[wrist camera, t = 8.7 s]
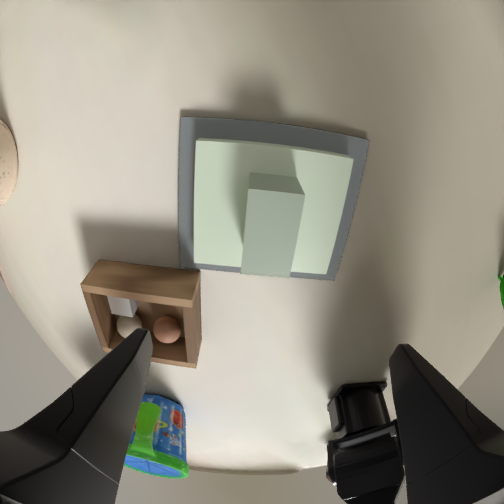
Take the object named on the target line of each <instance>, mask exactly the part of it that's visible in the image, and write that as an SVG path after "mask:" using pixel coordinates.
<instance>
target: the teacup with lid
mask: <svg viewBox="0 0 504 504" xmlns="http://www.w3.org/2000/svg"><path fill="white" fill-rule="evenodd" d="M17 173H18V158H17V151H16V146H15V142H14V139H13V136H12V134H11V132H10V130H9V128H8V127H7V126H6V124H5V123H4V122H3V121H1V120H0V205H1V204H3V203H4V202H6V201H7V200H8V199H9V198H10V196H11V194H12V193H13V190H14V188H15V185H16V180H17Z"/></svg>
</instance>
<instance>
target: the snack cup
mask: <svg viewBox="0 0 504 504" xmlns="http://www.w3.org/2000/svg"><path fill="white" fill-rule="evenodd" d="M124 466H126V467H129V468H131V469H134V470H137V471H140V472H143V473H146V474H150V475H154V476H160V477H166V478H186V477H187V476H188V472H189V466H188V464H187V461H186V419H185V412H184V410H183V408H182V406H181V405H179V404H177V403H175V402H173V401H171V400H169V399H167V398H164V397H161V396H160V395H150V394H145V395H143V398H142V401H141V404H140V407H139V411H138V414H137V418H136V421H135V425H134V428H133V432H132V435H131V439H130V442H129V446H128V450H127V454H126V457H125V461H124Z"/></svg>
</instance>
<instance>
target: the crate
mask: <svg viewBox="0 0 504 504" xmlns="http://www.w3.org/2000/svg"><path fill="white" fill-rule="evenodd" d="M81 288H82V291H83V294H84V298H85V301H86V304H87V307H88V310H89V313H90V316H91V319H92V322H93V325H94V327H95V330H96V333H97V335H98V338H99V341H100V343H101V346H102V348H103V351H104V352H108V353H109V352H110V351H111V350H113V349H114V348H115V347H116V346H117V345H118V344H119V343H120V342H122V341H123V340H124V339H125V338H126V337H127V336H128V335H130V334H131V333H132V332H133V331H134V330H135V329H137V328H144V329H148V330H149V331H150V335H151V339H152V344H153V351H152V356H151V362H157V363H163V364H169V365H175V366H182V367H189V368H196V366H197V361H198V356H199V350H200V345H201V340H202V337H201V297H200V271H193V270H183V269H174V268H165V267H156V266H147V265H138V264H130V263H121V262H113V261H105V260H98V262H97V263H96V264H95V266H94V267H93V268H92V269H91V271H90V272H89V273H88V275H87V276H86V277H85V279H84V280H83V281H82V283H81Z"/></svg>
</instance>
